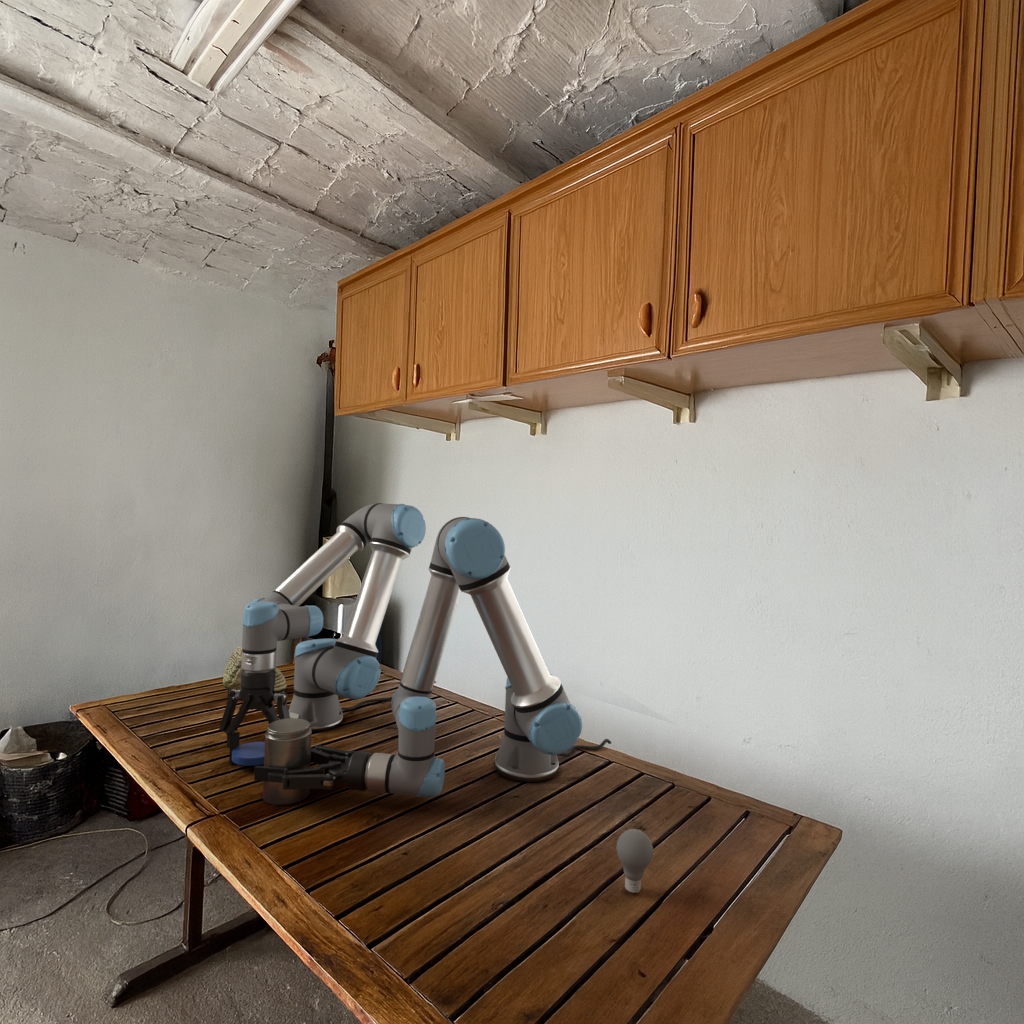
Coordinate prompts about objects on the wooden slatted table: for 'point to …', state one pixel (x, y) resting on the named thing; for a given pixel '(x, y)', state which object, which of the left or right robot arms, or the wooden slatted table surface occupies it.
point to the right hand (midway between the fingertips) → (267, 762)
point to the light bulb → (634, 857)
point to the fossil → (234, 670)
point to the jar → (286, 757)
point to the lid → (249, 754)
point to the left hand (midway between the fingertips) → (254, 763)
